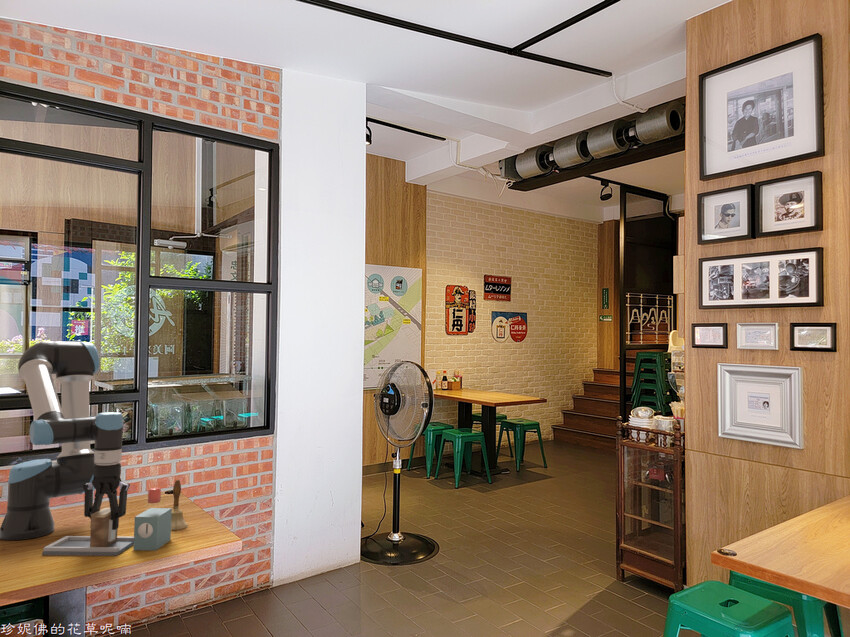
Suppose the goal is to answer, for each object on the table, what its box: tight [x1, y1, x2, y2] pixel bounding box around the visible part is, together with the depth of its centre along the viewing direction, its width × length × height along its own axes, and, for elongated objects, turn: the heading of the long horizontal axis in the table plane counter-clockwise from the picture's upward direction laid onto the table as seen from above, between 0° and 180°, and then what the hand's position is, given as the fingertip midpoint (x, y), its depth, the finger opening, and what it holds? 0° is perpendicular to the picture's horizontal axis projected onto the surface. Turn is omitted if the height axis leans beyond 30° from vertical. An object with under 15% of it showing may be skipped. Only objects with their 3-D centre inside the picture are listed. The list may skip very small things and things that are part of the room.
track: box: [41, 535, 134, 557], centre depth 177 cm, size 22×12×2 cm, turn 90°
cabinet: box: [133, 507, 173, 551], centre depth 181 cm, size 7×11×10 cm, turn 0°
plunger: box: [147, 487, 162, 504], centre depth 182 cm, size 4×4×4 cm
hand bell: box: [171, 479, 189, 531], centre depth 201 cm, size 8×8×16 cm
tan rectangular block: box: [89, 506, 119, 547], centre depth 178 cm, size 4×8×10 cm, turn 0°
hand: (103, 539), depth 178 cm, fingers closed on tan rectangular block, 4 cm apart
